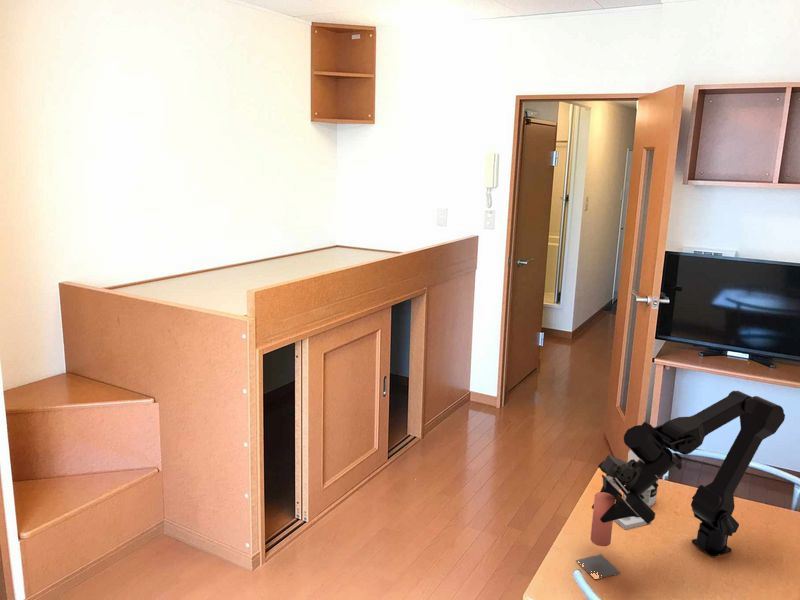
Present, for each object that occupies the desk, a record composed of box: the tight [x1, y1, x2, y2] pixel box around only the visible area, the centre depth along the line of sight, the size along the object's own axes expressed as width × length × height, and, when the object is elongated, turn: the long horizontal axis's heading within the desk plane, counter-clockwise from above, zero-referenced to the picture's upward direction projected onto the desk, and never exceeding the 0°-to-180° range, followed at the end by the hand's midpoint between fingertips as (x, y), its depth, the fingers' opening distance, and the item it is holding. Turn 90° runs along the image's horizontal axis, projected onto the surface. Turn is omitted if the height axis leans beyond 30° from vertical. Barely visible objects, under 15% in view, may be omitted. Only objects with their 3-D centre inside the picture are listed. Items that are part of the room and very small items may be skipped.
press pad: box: [575, 553, 621, 579], centre depth 148 cm, size 7×7×1 cm
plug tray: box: [613, 516, 652, 530], centre depth 166 cm, size 8×6×4 cm
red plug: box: [590, 491, 616, 547], centre depth 145 cm, size 4×4×11 cm
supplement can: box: [623, 448, 659, 507], centre depth 175 cm, size 8×8×15 cm
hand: (597, 515), depth 145 cm, fingers closed on red plug, 4 cm apart
